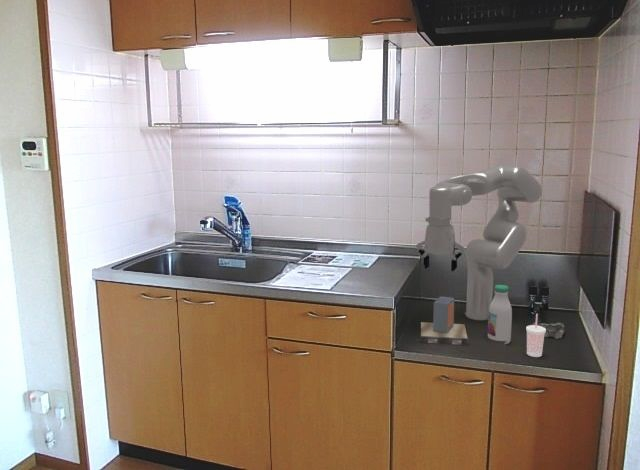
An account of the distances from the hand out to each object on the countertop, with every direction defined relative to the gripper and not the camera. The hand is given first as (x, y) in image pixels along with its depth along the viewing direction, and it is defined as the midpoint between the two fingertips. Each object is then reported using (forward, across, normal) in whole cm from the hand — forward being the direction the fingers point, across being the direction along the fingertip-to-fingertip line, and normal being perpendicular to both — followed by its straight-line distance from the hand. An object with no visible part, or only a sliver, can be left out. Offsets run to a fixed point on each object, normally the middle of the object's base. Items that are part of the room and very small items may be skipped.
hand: (440, 268), depth 199 cm
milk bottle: (+25, +21, +2) cm, 32 cm away
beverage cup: (+25, +33, -4) cm, 42 cm away
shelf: (+24, +2, -3) cm, 25 cm away
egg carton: (+26, +35, +16) cm, 46 cm away
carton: (+23, +1, +1) cm, 23 cm away
